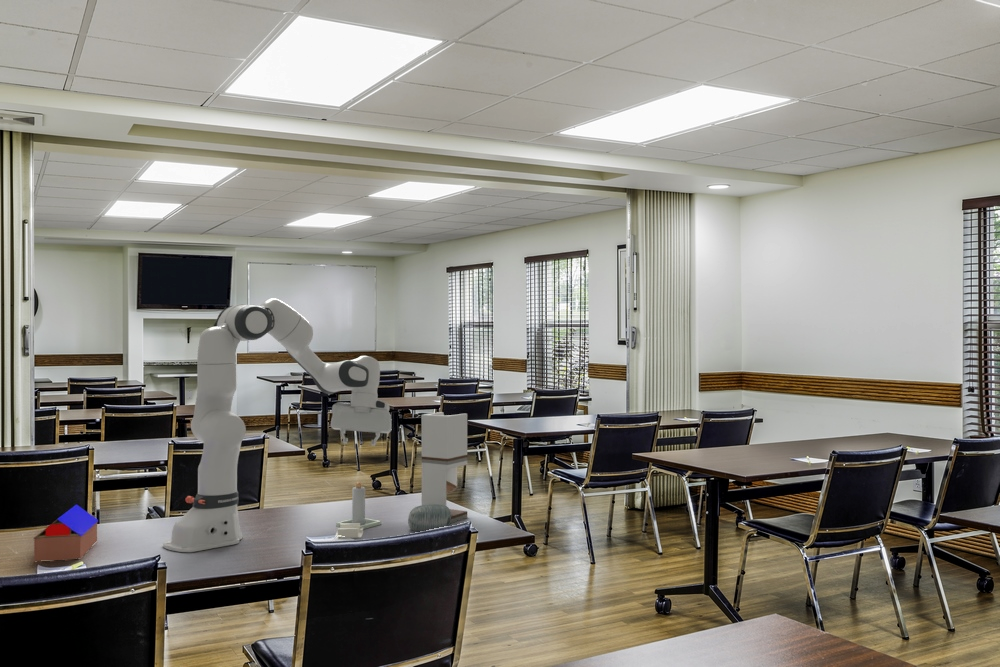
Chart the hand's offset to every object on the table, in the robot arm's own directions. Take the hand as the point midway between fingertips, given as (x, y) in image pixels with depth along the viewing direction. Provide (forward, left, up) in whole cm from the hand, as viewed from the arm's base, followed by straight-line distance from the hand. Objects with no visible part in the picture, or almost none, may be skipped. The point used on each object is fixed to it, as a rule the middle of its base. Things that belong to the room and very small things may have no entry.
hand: (359, 444), depth 269 cm
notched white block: (+17, -23, -25) cm, 38 cm away
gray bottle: (-9, -9, -24) cm, 27 cm away
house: (-77, +38, -25) cm, 90 cm away
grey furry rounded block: (+1, -30, -25) cm, 39 cm away
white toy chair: (-18, -14, -25) cm, 34 cm away
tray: (-9, -9, -25) cm, 28 cm away
